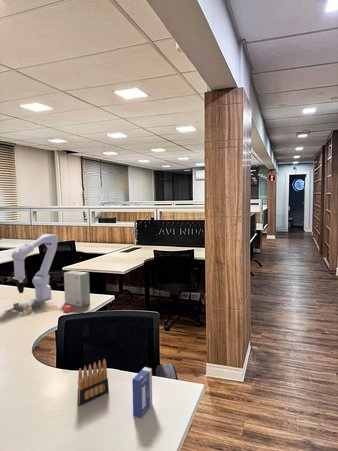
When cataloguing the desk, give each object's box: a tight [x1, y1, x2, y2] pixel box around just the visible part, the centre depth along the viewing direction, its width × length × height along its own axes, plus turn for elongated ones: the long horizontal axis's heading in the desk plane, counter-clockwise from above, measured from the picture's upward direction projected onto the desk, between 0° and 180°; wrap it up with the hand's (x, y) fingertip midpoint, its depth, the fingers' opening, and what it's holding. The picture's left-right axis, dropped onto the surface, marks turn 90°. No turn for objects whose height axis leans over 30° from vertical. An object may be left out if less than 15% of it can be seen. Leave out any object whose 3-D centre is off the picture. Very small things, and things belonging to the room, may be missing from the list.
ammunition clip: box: [76, 358, 110, 407], centre depth 107 cm, size 11×2×12 cm, turn 132°
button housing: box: [12, 299, 41, 312], centre depth 198 cm, size 11×11×2 cm
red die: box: [63, 304, 73, 313], centre depth 190 cm, size 3×3×3 cm
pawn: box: [23, 303, 32, 314], centre depth 188 cm, size 4×4×5 cm
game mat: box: [19, 304, 60, 317], centre depth 192 cm, size 21×9×1 cm, turn 120°
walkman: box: [131, 366, 153, 419], centre depth 100 cm, size 8×3×12 cm, turn 155°
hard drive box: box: [63, 270, 91, 308], centre depth 204 cm, size 16×8×20 cm, turn 58°
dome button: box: [17, 299, 35, 307], centre depth 198 cm, size 9×9×2 cm
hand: (20, 291), depth 199 cm, fingers open, 7 cm apart
